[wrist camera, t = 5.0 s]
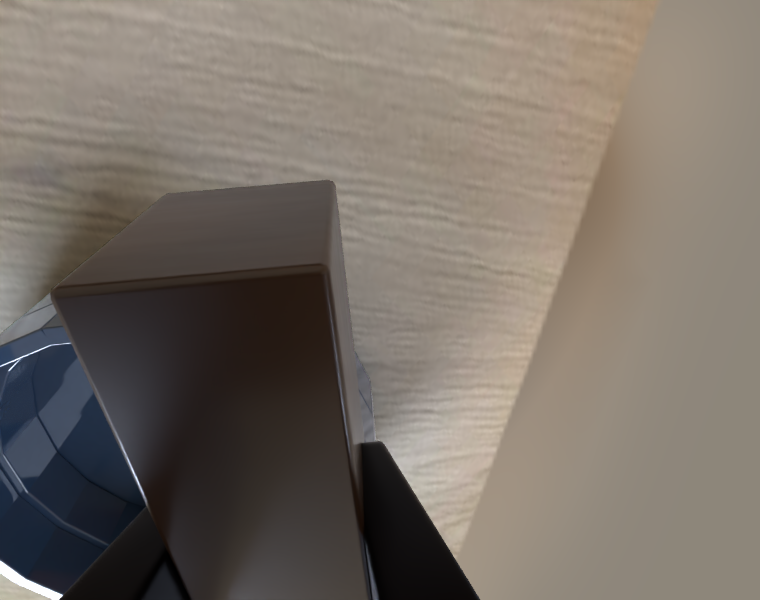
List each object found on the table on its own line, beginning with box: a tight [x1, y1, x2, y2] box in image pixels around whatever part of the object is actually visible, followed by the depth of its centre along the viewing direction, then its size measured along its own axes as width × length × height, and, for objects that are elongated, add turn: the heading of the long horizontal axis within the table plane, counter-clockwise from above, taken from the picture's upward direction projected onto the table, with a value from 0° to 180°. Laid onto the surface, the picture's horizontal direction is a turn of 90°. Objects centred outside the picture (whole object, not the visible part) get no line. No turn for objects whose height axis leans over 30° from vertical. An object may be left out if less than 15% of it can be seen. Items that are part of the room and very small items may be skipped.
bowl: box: [0, 292, 376, 600], centre depth 19 cm, size 15×15×5 cm
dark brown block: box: [50, 180, 372, 600], centre depth 7 cm, size 2×9×3 cm, turn 4°
